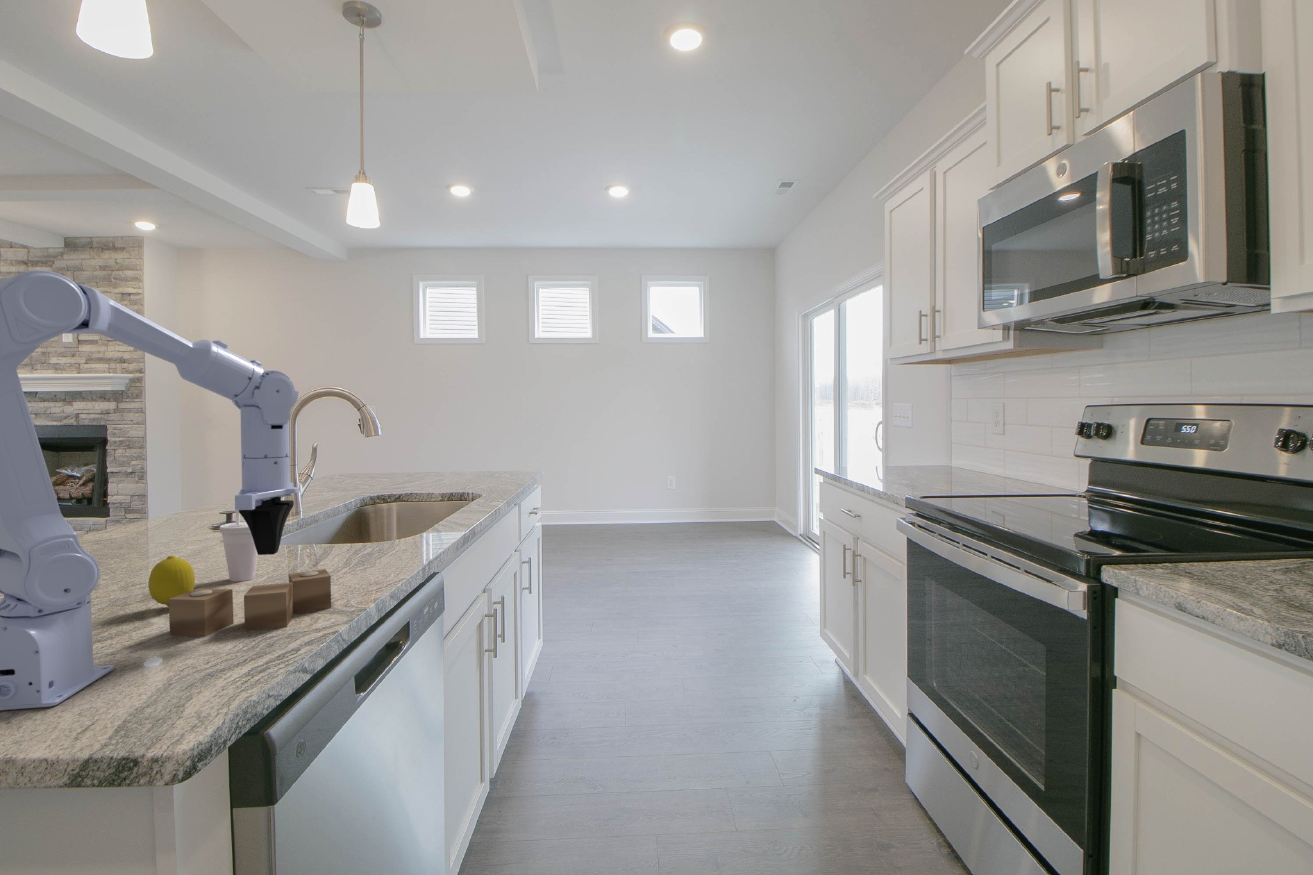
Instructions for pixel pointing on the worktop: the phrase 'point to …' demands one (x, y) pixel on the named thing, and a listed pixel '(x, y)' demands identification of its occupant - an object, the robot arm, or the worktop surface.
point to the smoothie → (239, 550)
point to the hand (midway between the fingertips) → (267, 553)
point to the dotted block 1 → (200, 612)
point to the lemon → (170, 579)
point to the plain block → (268, 606)
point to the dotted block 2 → (311, 590)
